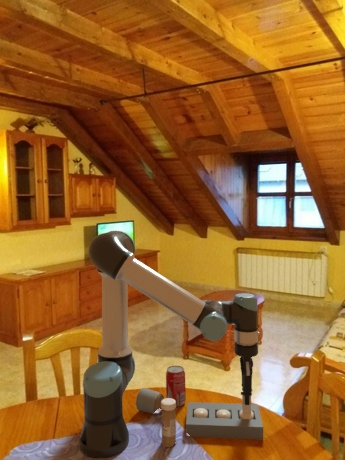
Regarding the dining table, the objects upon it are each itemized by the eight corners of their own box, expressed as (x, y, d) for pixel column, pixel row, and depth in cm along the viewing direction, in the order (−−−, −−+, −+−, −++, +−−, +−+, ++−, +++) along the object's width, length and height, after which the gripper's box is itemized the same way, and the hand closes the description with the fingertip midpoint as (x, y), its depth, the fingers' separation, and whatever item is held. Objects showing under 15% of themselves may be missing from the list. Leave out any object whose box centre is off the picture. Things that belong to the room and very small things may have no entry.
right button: (239, 425, 127) (239, 416, 127) (238, 417, 131) (238, 409, 131) (254, 426, 126) (254, 417, 126) (252, 418, 131) (252, 409, 131)
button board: (186, 436, 124) (185, 424, 124) (188, 413, 138) (188, 402, 138) (263, 439, 122) (263, 427, 121) (257, 415, 136) (257, 404, 135)
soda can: (189, 401, 146) (188, 367, 146) (179, 409, 140) (178, 374, 140) (173, 396, 150) (172, 363, 149) (162, 404, 144) (162, 370, 143)
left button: (193, 424, 128) (193, 415, 128) (194, 416, 133) (194, 407, 133) (207, 424, 128) (207, 415, 128) (207, 417, 132) (207, 408, 132)
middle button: (216, 425, 128) (216, 416, 127) (216, 417, 132) (216, 409, 132) (230, 426, 127) (230, 417, 127) (230, 418, 132) (230, 409, 132)
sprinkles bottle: (158, 443, 121) (157, 400, 120) (169, 437, 124) (168, 395, 123) (168, 450, 117) (167, 406, 116) (179, 443, 120) (178, 400, 120)
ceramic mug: (156, 419, 134) (155, 397, 134) (135, 414, 138) (135, 392, 138) (169, 405, 144) (169, 384, 144) (149, 401, 147) (149, 380, 147)
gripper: (260, 349, 121) (260, 423, 122) (255, 335, 133) (256, 402, 135) (235, 348, 121) (236, 422, 123) (233, 335, 134) (234, 402, 136)
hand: (246, 412), depth 129 cm, fingers closed
